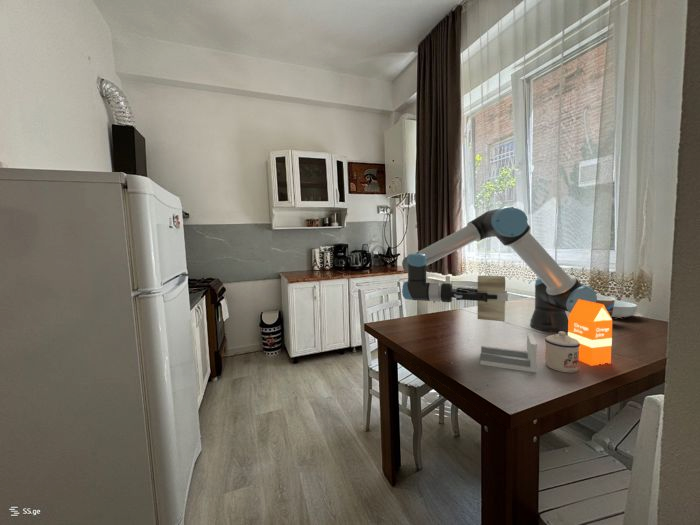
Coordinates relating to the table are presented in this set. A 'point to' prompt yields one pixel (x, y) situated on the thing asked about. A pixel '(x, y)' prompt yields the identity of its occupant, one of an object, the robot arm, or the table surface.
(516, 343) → the table surface
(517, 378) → the table surface
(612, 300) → the coffee cup
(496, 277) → the tall wooden block
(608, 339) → the orange juice
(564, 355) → the teacup with lid
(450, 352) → the table surface
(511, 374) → the table surface
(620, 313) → the cereal bowl
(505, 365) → the track
